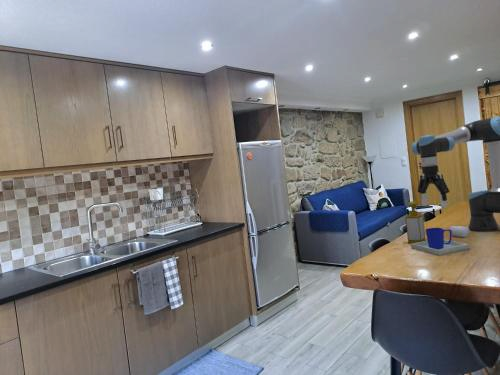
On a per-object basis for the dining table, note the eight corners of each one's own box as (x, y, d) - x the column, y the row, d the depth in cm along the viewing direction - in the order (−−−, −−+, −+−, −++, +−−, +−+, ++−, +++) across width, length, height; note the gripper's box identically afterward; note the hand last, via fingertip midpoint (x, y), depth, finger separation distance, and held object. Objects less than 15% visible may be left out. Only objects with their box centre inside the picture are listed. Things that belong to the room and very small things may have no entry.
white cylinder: (470, 234, 206) (457, 233, 214) (467, 225, 206) (455, 224, 213) (463, 239, 204) (451, 237, 211) (461, 229, 203) (448, 228, 211)
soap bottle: (428, 239, 212) (424, 199, 211) (421, 244, 203) (416, 202, 202) (415, 238, 217) (411, 199, 216) (408, 243, 208) (403, 202, 207)
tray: (439, 242, 200) (439, 238, 200) (469, 249, 181) (468, 244, 180) (411, 248, 196) (410, 243, 196) (438, 255, 177) (437, 250, 177)
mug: (455, 248, 182) (453, 229, 182) (430, 250, 185) (427, 231, 184) (450, 245, 190) (448, 226, 190) (425, 247, 193) (423, 228, 193)
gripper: (407, 167, 198) (412, 205, 199) (441, 165, 174) (446, 209, 175) (419, 165, 200) (424, 203, 201) (454, 163, 175) (459, 206, 176)
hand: (434, 206), depth 188 cm, fingers open, 13 cm apart
